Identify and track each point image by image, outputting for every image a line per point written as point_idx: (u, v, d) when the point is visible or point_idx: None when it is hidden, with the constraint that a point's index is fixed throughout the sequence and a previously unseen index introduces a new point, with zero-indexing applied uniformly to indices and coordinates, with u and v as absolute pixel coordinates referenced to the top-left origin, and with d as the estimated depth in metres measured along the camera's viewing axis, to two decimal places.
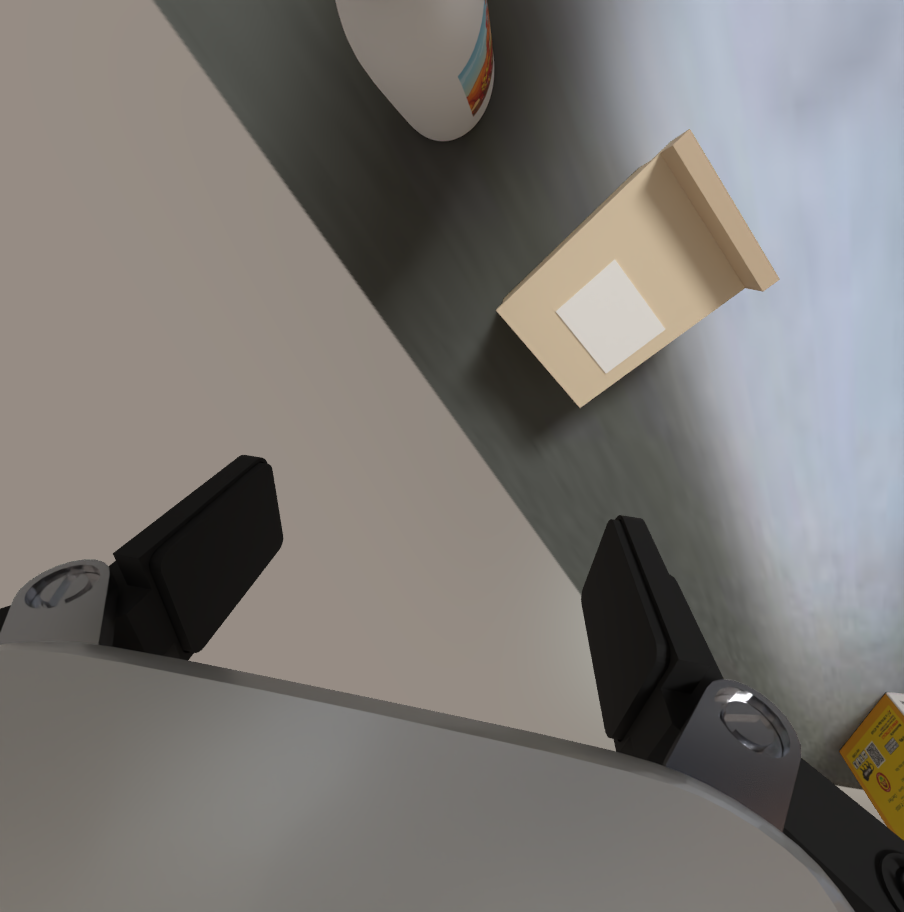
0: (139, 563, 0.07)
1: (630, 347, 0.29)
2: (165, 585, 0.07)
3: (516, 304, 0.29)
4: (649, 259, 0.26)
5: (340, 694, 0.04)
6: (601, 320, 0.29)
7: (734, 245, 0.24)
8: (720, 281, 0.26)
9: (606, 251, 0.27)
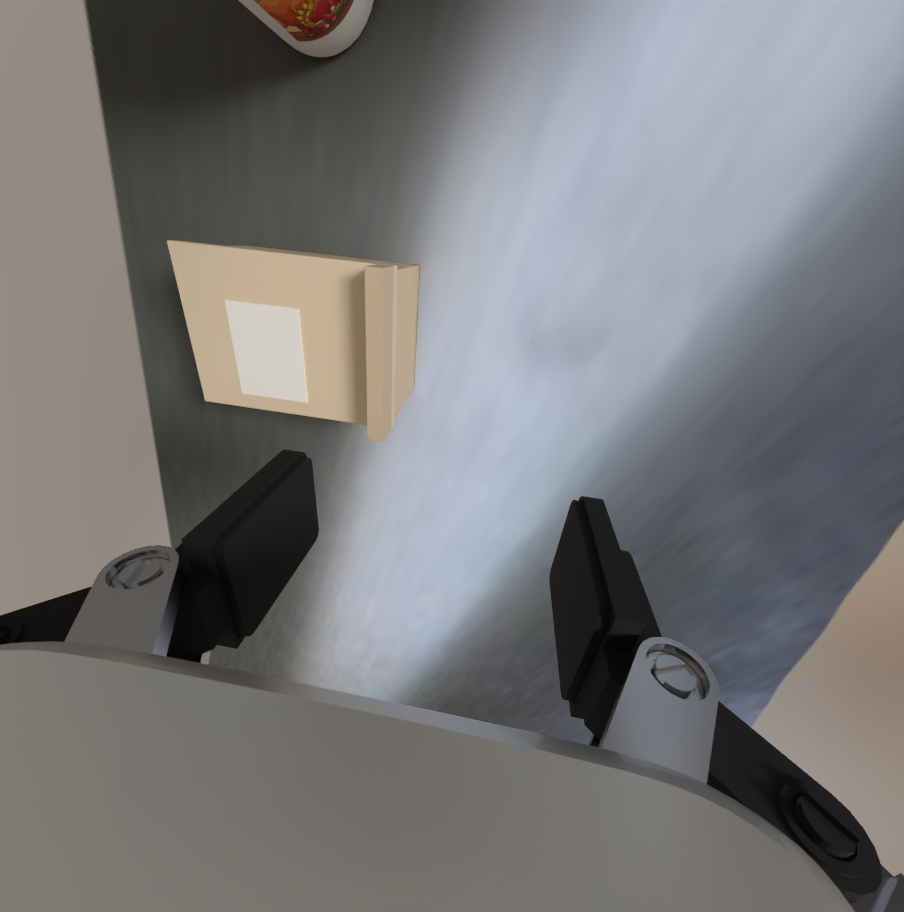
0: (205, 549, 0.07)
1: (273, 391, 0.28)
2: (226, 570, 0.08)
3: (190, 256, 0.24)
4: (324, 337, 0.25)
5: (340, 694, 0.04)
6: (260, 346, 0.26)
7: (367, 389, 0.24)
8: (364, 405, 0.27)
9: (295, 295, 0.24)
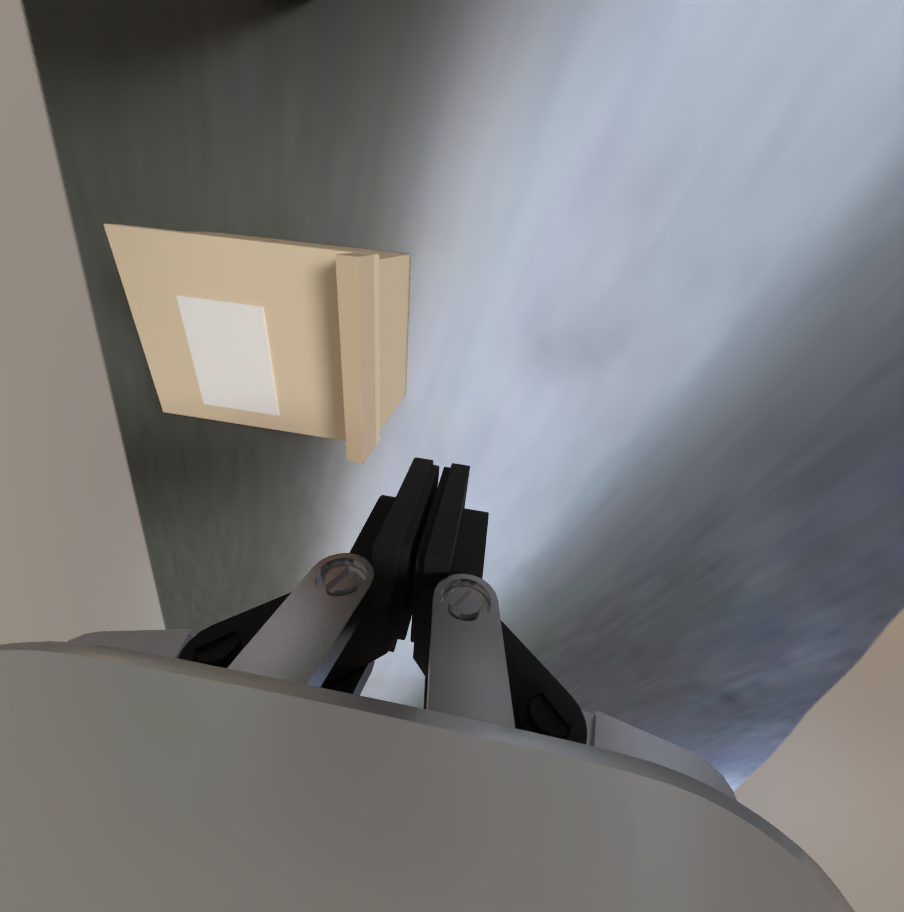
0: (392, 556, 0.08)
1: (239, 402, 0.24)
2: (403, 577, 0.08)
3: (132, 242, 0.20)
4: (295, 340, 0.21)
5: (340, 694, 0.04)
6: (222, 351, 0.22)
7: (344, 402, 0.20)
8: (344, 419, 0.23)
9: (258, 290, 0.20)
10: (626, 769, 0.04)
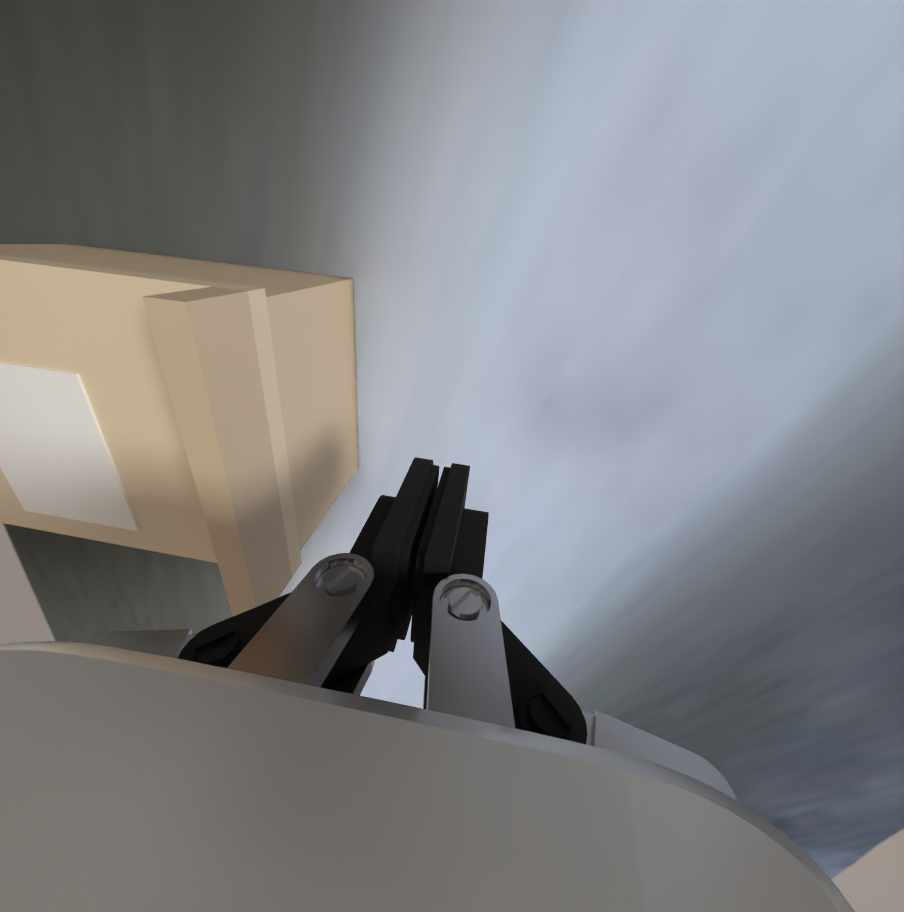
0: (392, 556, 0.08)
1: (77, 509, 0.15)
2: (403, 577, 0.08)
3: None
4: (141, 427, 0.13)
5: (340, 694, 0.04)
6: (30, 438, 0.14)
7: (213, 540, 0.12)
8: None
9: (65, 347, 0.12)
10: (626, 769, 0.04)
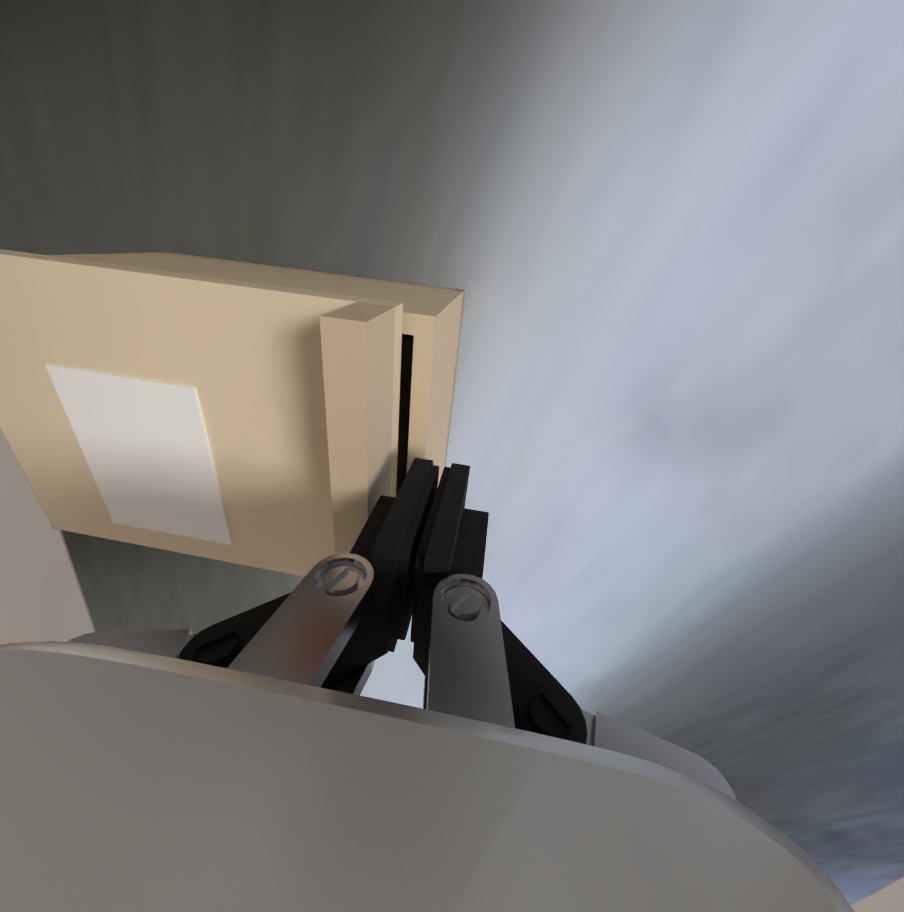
0: (392, 556, 0.08)
1: (169, 522, 0.15)
2: (403, 577, 0.08)
3: None
4: (254, 441, 0.12)
5: (340, 694, 0.04)
6: (133, 451, 0.13)
7: None
8: None
9: (186, 361, 0.11)
10: (626, 769, 0.04)
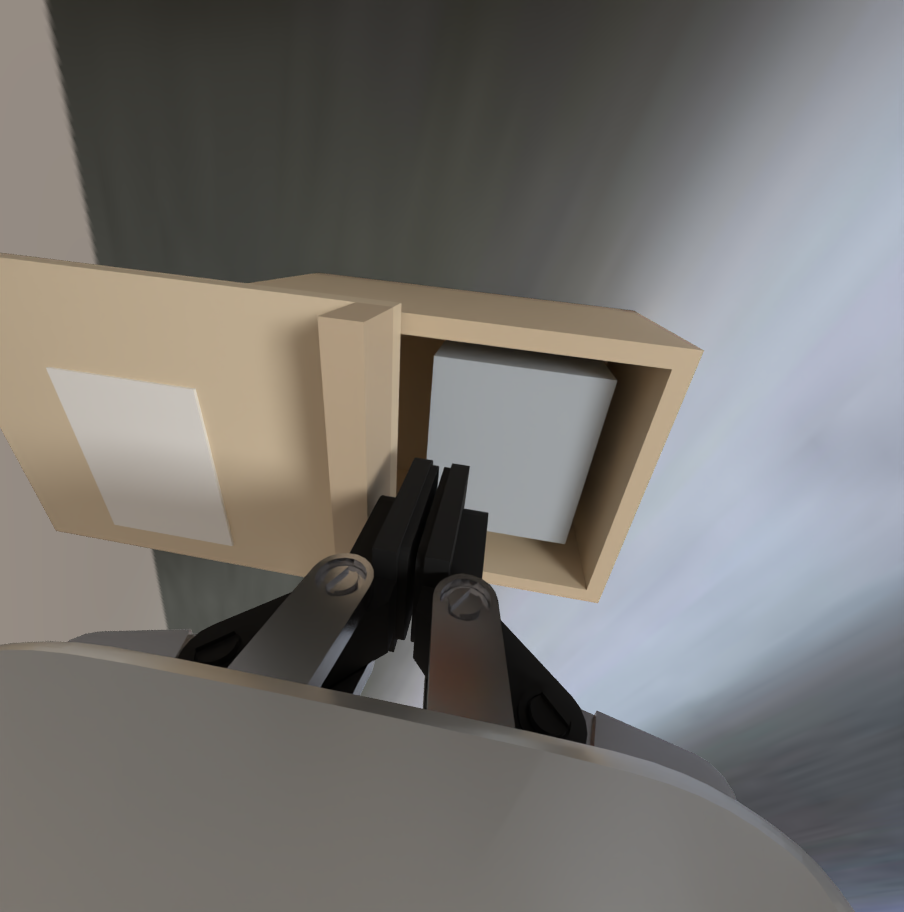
0: (392, 556, 0.08)
1: (170, 524, 0.15)
2: (403, 577, 0.08)
3: None
4: (254, 442, 0.12)
5: (340, 694, 0.04)
6: (133, 453, 0.13)
7: None
8: None
9: (185, 362, 0.11)
10: (626, 769, 0.04)
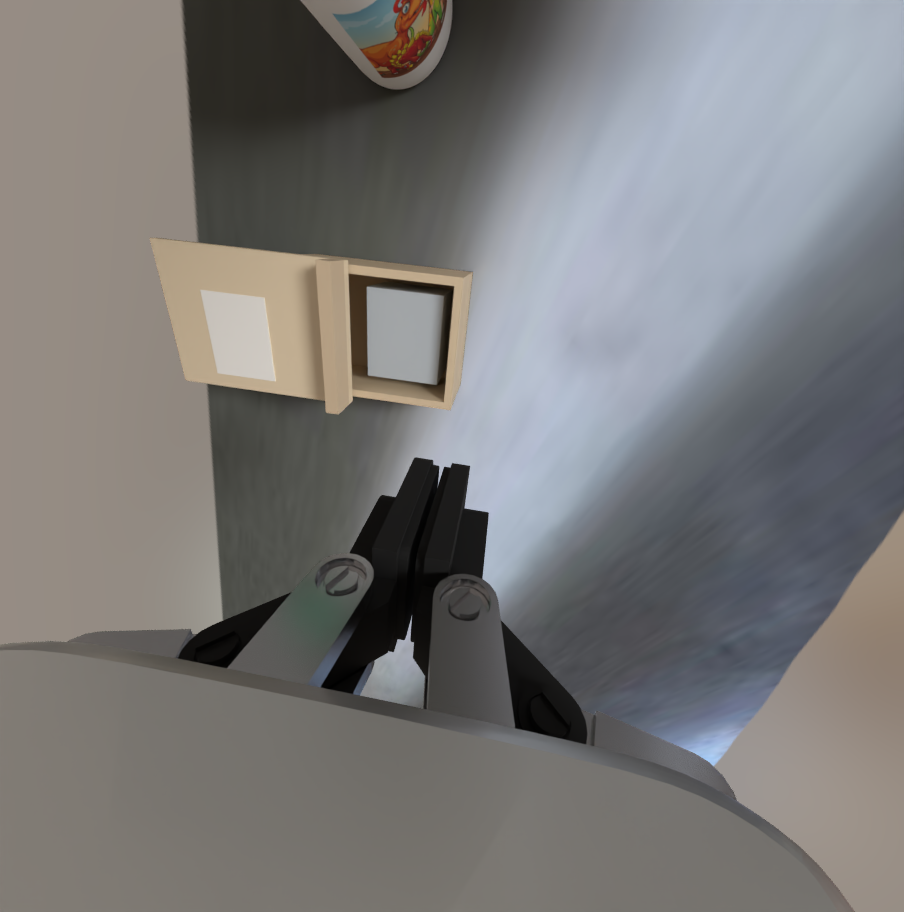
0: (392, 556, 0.08)
1: (245, 371, 0.31)
2: (403, 577, 0.08)
3: (170, 251, 0.28)
4: (288, 323, 0.29)
5: (340, 694, 0.04)
6: (233, 331, 0.30)
7: (323, 366, 0.28)
8: None
9: (261, 285, 0.28)
10: (626, 769, 0.04)
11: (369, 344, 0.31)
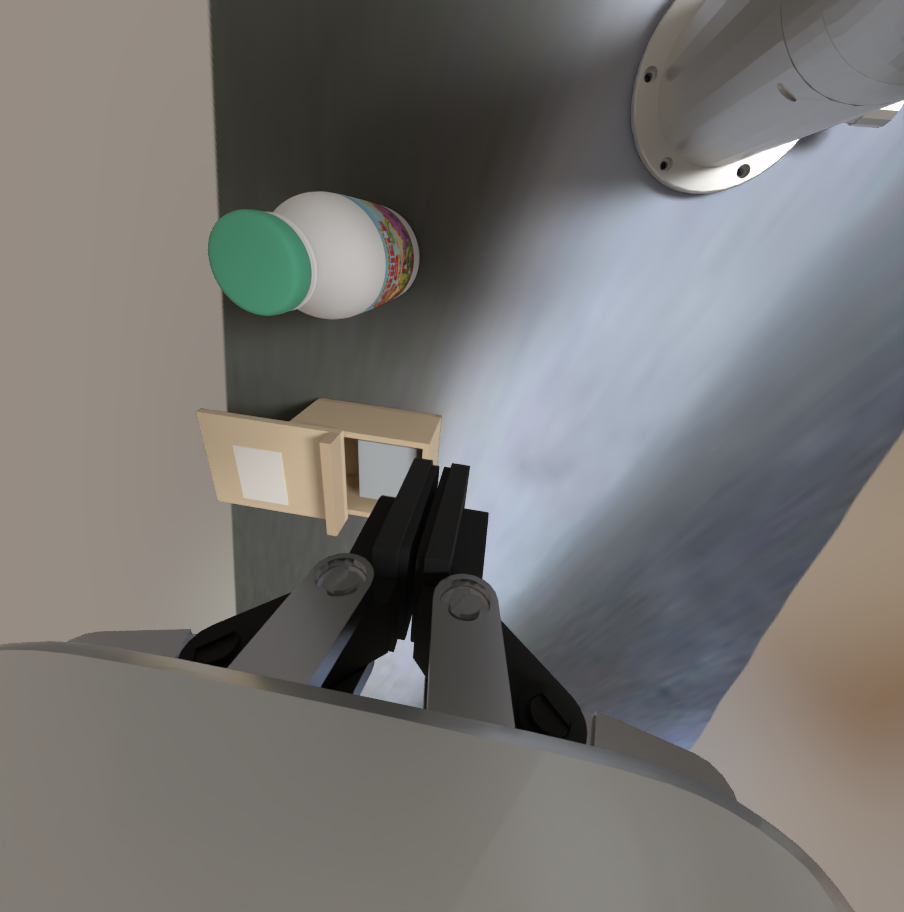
0: (392, 556, 0.08)
1: (265, 497, 0.41)
2: (403, 577, 0.08)
3: (210, 420, 0.37)
4: (298, 469, 0.38)
5: (340, 694, 0.04)
6: (256, 472, 0.39)
7: (325, 505, 0.37)
8: None
9: (278, 445, 0.37)
10: (626, 769, 0.04)
11: (360, 476, 0.41)
